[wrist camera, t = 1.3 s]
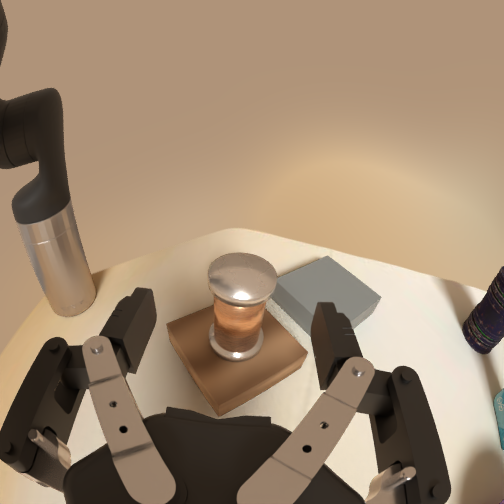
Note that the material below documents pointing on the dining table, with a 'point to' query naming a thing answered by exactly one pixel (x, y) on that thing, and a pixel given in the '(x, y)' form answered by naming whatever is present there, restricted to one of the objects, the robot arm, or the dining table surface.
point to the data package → (500, 414)
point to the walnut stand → (234, 373)
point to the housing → (239, 304)
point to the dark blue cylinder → (487, 318)
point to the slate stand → (324, 293)
